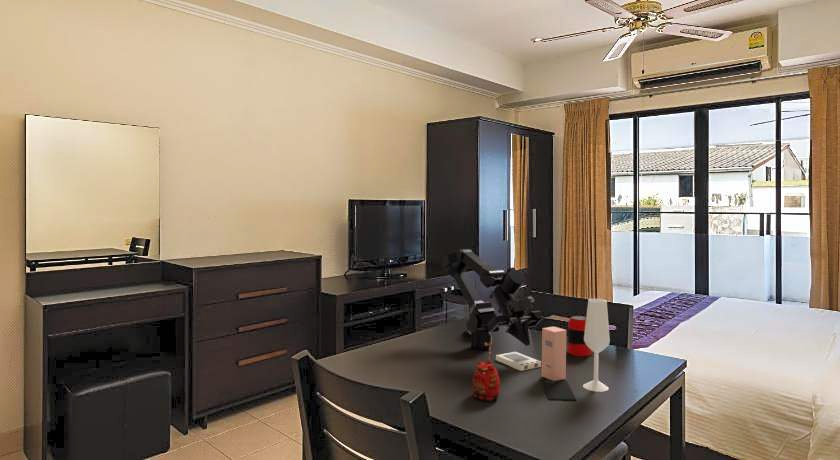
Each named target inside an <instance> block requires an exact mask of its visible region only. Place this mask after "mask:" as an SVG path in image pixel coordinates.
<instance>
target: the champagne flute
mask: <svg viewBox="0 0 840 460" xmlns="http://www.w3.org/2000/svg"><path fill="white" fill-rule="evenodd" d="M587 300H588V301H587V306H586V307H587V308H586V316H585V317H586V324H585V333H584V342H585V344H586V345H587V346H588V347H589V348H590V349H591V352H593V356H594V357H593V380H591V381H589V382H586V383H584V384H583V385H582V387H583V388H584V389H586V390H587V391H591V392H597V393H600V392H601V393H602V392H606V391H609V387H608V386H607V385H606V384H604V383H602V382H601V381H600V380H599V360H600V359H599V355H600V353H601V352H602V351H604V350H605V349H607V347H609V345H610V344H611V343H610V342H611V339H610V326H609V324H610V323H609V314H608V311H609V310H608V301H607V300H606V299H602V298H589V299H587Z"/></svg>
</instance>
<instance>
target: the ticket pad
mask: <svg viewBox="0 0 840 460" xmlns="http://www.w3.org/2000/svg"><path fill="white" fill-rule="evenodd" d="M495 361H497V362H499V363H501V364H505V365H507V366H509V367H511V368H513V369H516V370H518V371H522V372H523V371H526V370H527V371H528V370H531V369H536V368H542V360H538V359H535V358H532V357H530V356H528V355H525V354H524V353H523V354H522V353H520V352H518V351H512V352H507V353H502V354H501V353H500V354H496V355H495Z"/></svg>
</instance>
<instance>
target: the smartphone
mask: <svg viewBox="0 0 840 460" xmlns="http://www.w3.org/2000/svg"><path fill="white" fill-rule="evenodd" d="M540 382H541V384H542V387H543V389H544V392H545V395H546V398H547V400H548V401H555V402H556V401H565V402H577V397H576V396H575V394H574V392H573V390H572V389H571V386H570V385H569V383H568V380H566V379H562V380H557V381H553V380H550V379H541V381H540Z"/></svg>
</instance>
